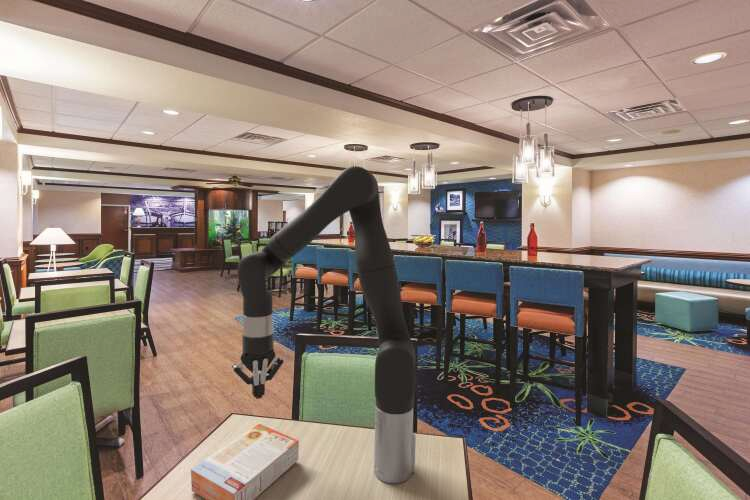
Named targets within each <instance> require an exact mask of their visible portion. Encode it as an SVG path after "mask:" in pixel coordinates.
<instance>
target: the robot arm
mask: <svg viewBox="0 0 750 500" xmlns="http://www.w3.org/2000/svg"><path fill="white" fill-rule="evenodd" d="M347 212H349V215H350V219H351V223H352V226H353V232H354V258H355V268H356V273H357V277H358V281H359V285H360V286H359V287H360V289H361V293H362V295H363V297H364V300H365V303H366V304H367V306H368V308H369V310H370V312H371V315H372V316H373V319H374V322H375V327H376V334H377V337H378V338H377V340H378V352H377V354H376V356H375V362H374V397H375V409H374V410H375V419H374V453H373V455H374V457H373V459H374V460H373V462H374V463H373V473H374V475H375V476H376V477H377V479H378V480H380V481H381V482H383V483H386V484H387V483H388V484H401V483H403V482H406V481H407V480H408V479H409V478H410V477H411V475H412V474H413V473H414V472H416V471H415V468H416V467H415V465H416V443H417V442H416V440H417V439H416V434H415V433H414V430H413V429H414V405H415V403H414V402H415V400H414V399H415V395H414V394H415V391H414V390H415V371H416V369H415V368H416V350H415V347H414V344H413V341H412V338H411V335H410V333H409V330H408V326H407V323H406V320H405V319H406V318H405V316H404V311H403V304H402V295H401V289H400V288H401V287H400V283H399V278H398V272H397V268H396V263H395V259H394V256H393V251H392V249H391V245H390V242H389V238H388V235H387V233H386V229H385V226H384V222H383V217H382V216H383V215H382V210H381V202H380V191H379V184H378V180H377V178H376V177H375V176H374V175H373V173H372V172H371V171H369V170H367V169H366V168H364V167H361V166H349V167H346V168H345V169H343V170H342V171H341V172H340V173H339V175H337V177H336V178H335V179H334V180H333V181H332V183H330V185H329V186H328V187H326V189H325V190H324V191H323V192H322V193H321V194H320V196H318V197H317V198H316V199H315V200H314V201H313V202H312V203H311V204H310V205H309V206H308V207H307V208H306V209H304V210H303V211H302V212H300V213H299V214H298V215H297V216H295V217H294V218H293V219H292V220H290V221H289V222H288V223H287V224H285V225H284V226H283V227H281V228H280V229H279V230H278V231H277V232H276V233H274V234H273V235H272V236H271V237H270V239H269V240H268V243H267V244H266V245H264V247H261V249H259V250H258V251H255V252H252V253H247V254H245V255H244V256H241V258H240V260H239V262H238V265H237V278H238V279H237V280H238V283H239V284H238V285H239V287H240V292H241V294H242V298H243V300H242V301H243V302H242V322H241V324H242V326H241V332H242V333H241V334H242V335H241V336H242V354H241V356H240V360H239V361H238V362H237V363H236V364H233V365H232V366H231V368H232V370H233V372H234V373H235V374H236V375H237V376H238V377H239V378H240V379H241V380H242V381H243V382H244V383H245V384H247V385H248V386H249V385H251V394H252V396H253V397H254V398H255V399H256V400H259V399H263V396H265V392H266V391H265V390H266V388H265V387H266V386H265V384H266V382H268V381H272V380H273V378H274V377H275V375H276V374H277V372H278V371H279V369H280V368H281V367H282V365H283V363H284V359H283V358H282V357H281V356H278V355H276V352H275V350H274V347H275V346H274V342H275V341H274V339H275V338H274V335H275V334H274V332H275V331H274V326H275V325H274V315H273V295H272V292H271V291H270V290H268V289H267V281H266V279H268V278H270V277H272V276H273V275H274V274H275V273H277V272H278V271H279V270H280V269H281V268H282V267H283V266H284V265H285V264H286V263H287V262H288V261H289V260H291V259H292V258H294V256H296V255H297V254H299V253H300V252H301V251H303V249H305V248H307V246H308V245H310V244H311V243H312V242H313V241H314V240H315V239H316V238H317V237H318V236H319V235H320V234H321V233H322V232H323V231H324V230H325V228H327V227H328V226H329V225H330V224H331V223H333V222H334V221H335V220H337V219H338V218H339V217H341V216H342V215H344V214H346V213H347ZM243 366H245V368H246V369H247V370H248V371H249V372H250V377H249V376H248V375H247V373H246V372H244V369H245V368H244V367H243Z"/></svg>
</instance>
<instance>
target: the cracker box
mask: <svg viewBox="0 0 750 500" xmlns="http://www.w3.org/2000/svg"><path fill="white" fill-rule="evenodd" d="M299 444H300V442H299V440H298V439H296V438H294V437H291V436H289V435H287V434H284V433H282V432H280V431H277V430H274V429H272V428H270V427H268V426H265V425H263V424H261V423H257V424H256V425H255V426H254V427H252V428H250V429H249V430H246V432H245V433H243V434H241V435H239V436H238V437H236V438H235V439H234V440H232V441H231V442H230V443H228V444H226V445H224V447H222V448H221V449H218V450H217V451H216V452H214V453H213V454H211V455H210V456H208V457H207V458H205V459H204V460H203V461H201V462H199V463H198V464H196V465H195V466H193V467H192V468H191V469H190V479H191V480H190V481H191V492H193V493H194V494H195V495H198V496H199V497H201V498H203V499H204V500H255V499H256V498H257V497H259V495H261V494H262V493H263V492H264V491H265V490H266V489H268V487H270V486H271V485H273V483H274V482H276V481H277V480H278V479H279V478H280V477H281V476H282V475H283V474H285V473H286V472H287V471H288V470H289V469H291V467H292V466H294V464H296V463H297V462H298V461H299V447H300V446H299Z"/></svg>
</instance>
